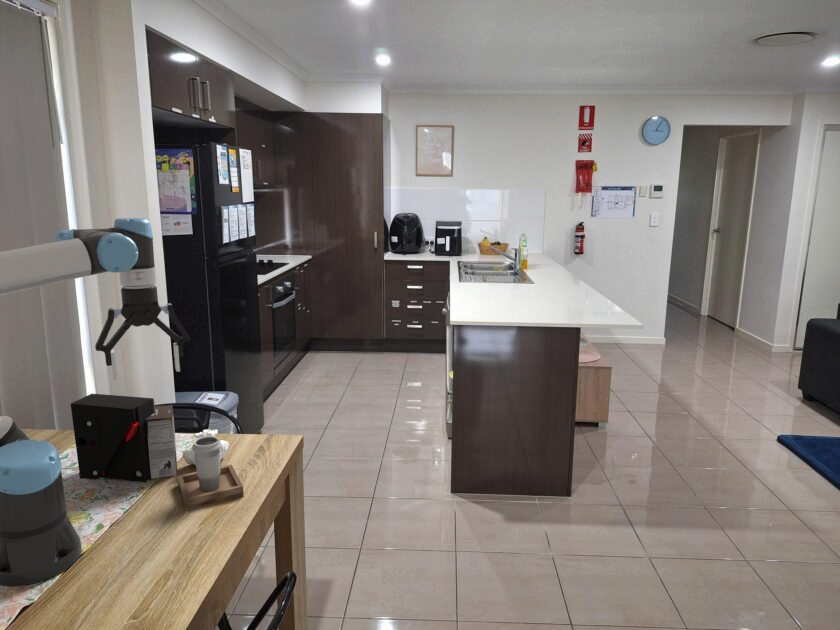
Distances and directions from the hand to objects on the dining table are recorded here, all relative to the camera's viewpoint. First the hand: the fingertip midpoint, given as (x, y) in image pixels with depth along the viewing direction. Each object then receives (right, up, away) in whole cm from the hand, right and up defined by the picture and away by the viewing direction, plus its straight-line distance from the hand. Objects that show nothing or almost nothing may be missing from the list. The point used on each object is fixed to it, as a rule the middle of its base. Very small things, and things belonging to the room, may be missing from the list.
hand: (147, 374), depth 142 cm
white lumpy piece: (+8, -26, +17) cm, 32 cm away
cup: (+14, -28, +3) cm, 31 cm away
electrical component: (-12, -27, +12) cm, 32 cm away
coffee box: (-2, -26, +14) cm, 30 cm away
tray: (+14, -29, +4) cm, 32 cm away
